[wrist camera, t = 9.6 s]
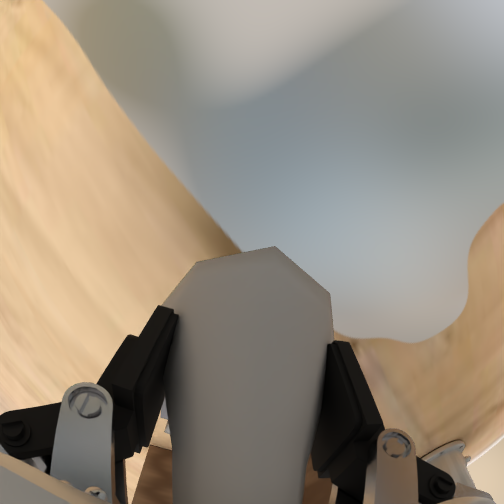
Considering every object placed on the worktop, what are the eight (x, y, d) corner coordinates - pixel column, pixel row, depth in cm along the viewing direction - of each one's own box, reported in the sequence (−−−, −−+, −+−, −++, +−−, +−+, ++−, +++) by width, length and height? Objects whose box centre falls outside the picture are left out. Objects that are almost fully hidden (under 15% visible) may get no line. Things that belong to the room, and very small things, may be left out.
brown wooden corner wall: (357, 387, 23) (396, 505, 10) (295, 472, 28) (301, 551, 16) (146, 351, 22) (86, 477, 9) (150, 449, 27) (126, 529, 15)
